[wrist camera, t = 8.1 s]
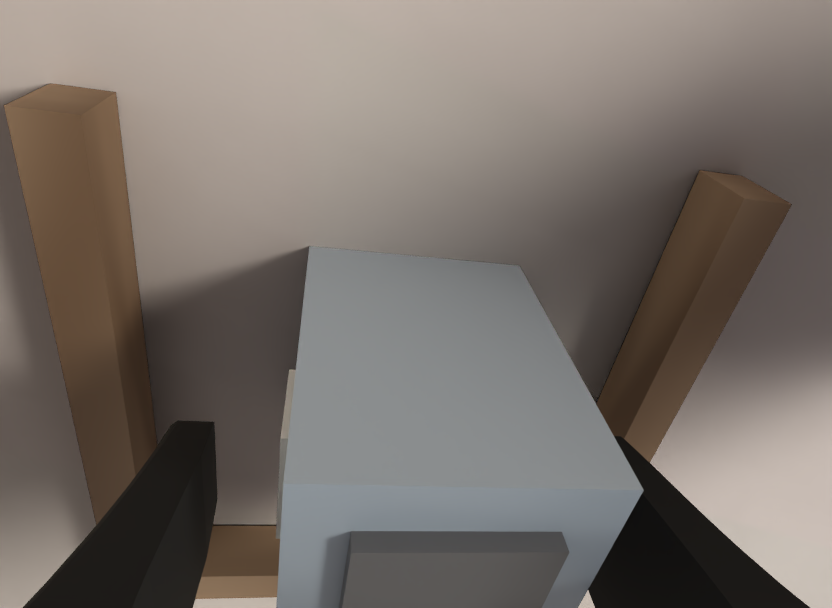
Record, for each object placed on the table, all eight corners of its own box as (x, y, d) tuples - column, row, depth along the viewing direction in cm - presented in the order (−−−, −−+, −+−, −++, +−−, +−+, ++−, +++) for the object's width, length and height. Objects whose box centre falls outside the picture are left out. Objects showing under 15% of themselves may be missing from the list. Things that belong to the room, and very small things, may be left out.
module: (519, 265, 12) (654, 509, 7) (474, 416, 14) (550, 685, 9) (301, 244, 11) (266, 506, 6) (291, 408, 14) (260, 700, 8)
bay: (742, 176, 11) (791, 204, 10) (562, 546, 18) (578, 591, 17) (49, 83, 9) (3, 105, 8) (131, 547, 16) (113, 600, 14)
